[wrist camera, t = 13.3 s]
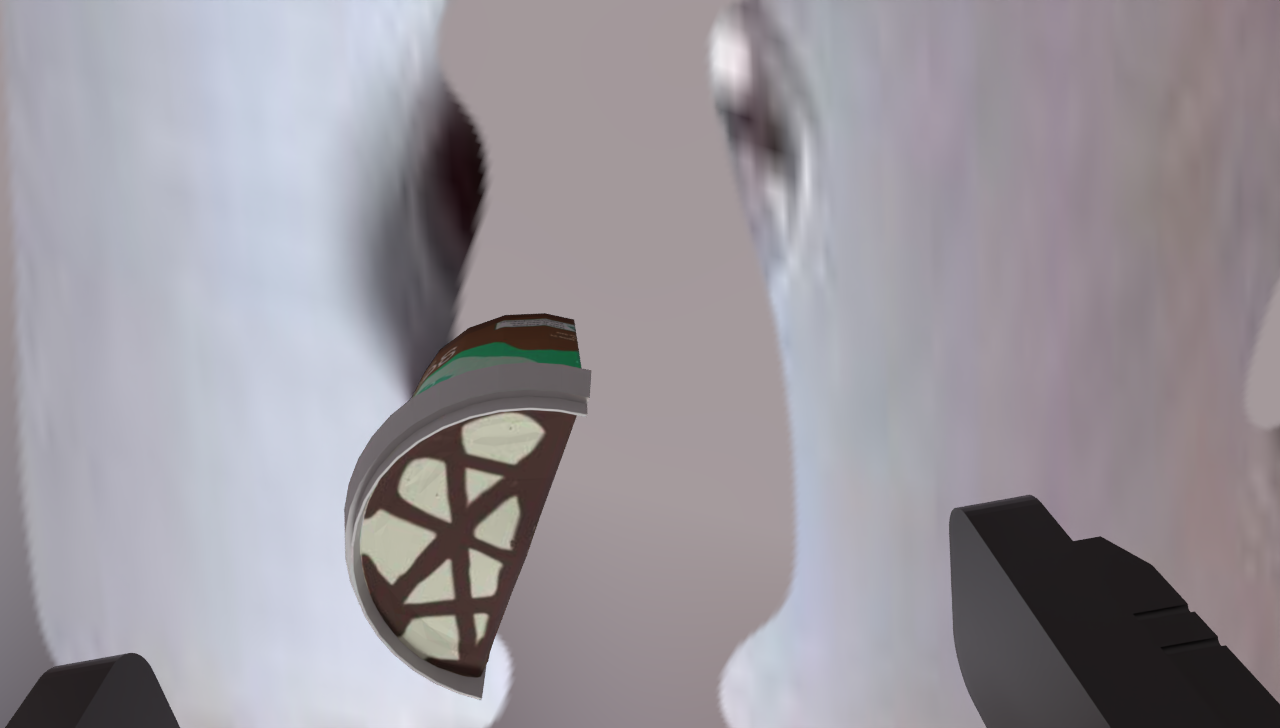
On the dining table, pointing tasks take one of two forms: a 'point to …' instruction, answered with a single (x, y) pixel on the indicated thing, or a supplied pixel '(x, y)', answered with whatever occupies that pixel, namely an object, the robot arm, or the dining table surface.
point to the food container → (462, 492)
